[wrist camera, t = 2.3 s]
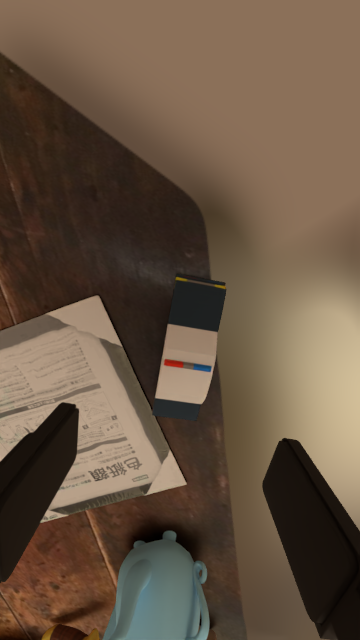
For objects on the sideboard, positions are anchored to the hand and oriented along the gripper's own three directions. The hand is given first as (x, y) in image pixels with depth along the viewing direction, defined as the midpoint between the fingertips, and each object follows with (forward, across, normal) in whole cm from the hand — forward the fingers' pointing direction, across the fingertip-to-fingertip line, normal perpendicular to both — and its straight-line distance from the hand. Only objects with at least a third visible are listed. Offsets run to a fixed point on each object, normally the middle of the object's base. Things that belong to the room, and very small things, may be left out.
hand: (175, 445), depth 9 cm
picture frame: (+14, +14, +16) cm, 25 cm away
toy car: (+14, -1, +1) cm, 14 cm away
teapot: (+14, -3, +39) cm, 41 cm away
